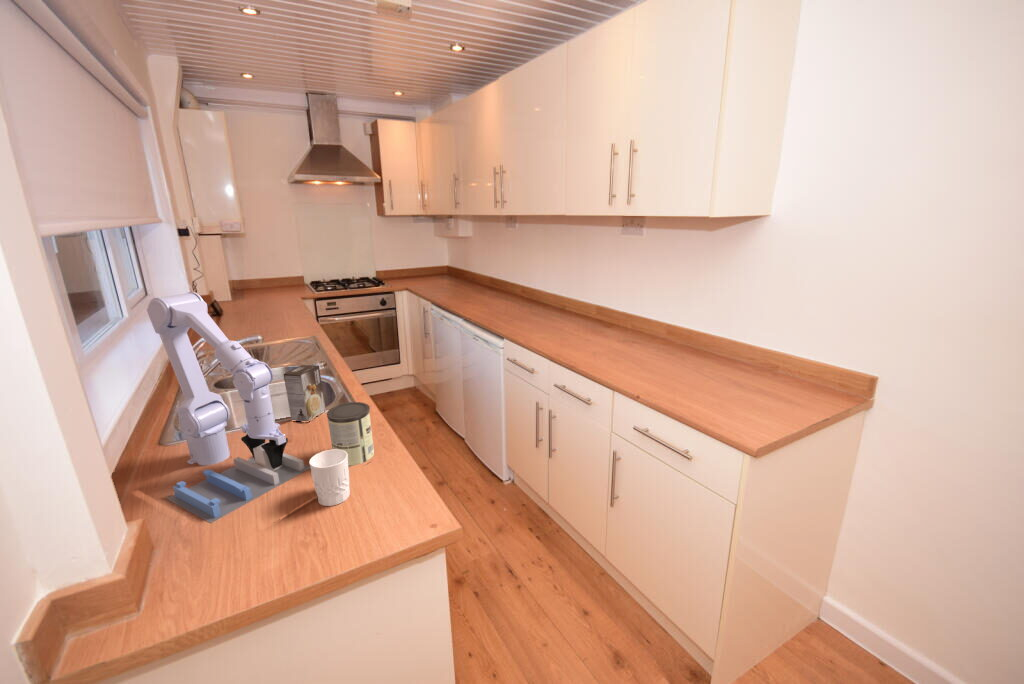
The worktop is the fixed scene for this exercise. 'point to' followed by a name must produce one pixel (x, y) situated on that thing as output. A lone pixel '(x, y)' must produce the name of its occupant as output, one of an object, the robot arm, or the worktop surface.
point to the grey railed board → (233, 487)
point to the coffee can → (352, 431)
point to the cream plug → (262, 458)
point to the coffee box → (304, 392)
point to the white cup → (330, 476)
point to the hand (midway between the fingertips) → (268, 463)
